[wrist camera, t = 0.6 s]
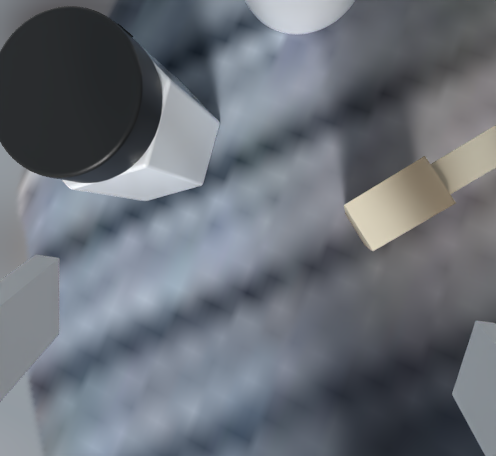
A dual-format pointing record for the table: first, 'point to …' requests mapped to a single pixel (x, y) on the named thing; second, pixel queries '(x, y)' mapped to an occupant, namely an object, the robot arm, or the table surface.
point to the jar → (99, 109)
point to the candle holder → (298, 14)
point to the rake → (419, 191)
